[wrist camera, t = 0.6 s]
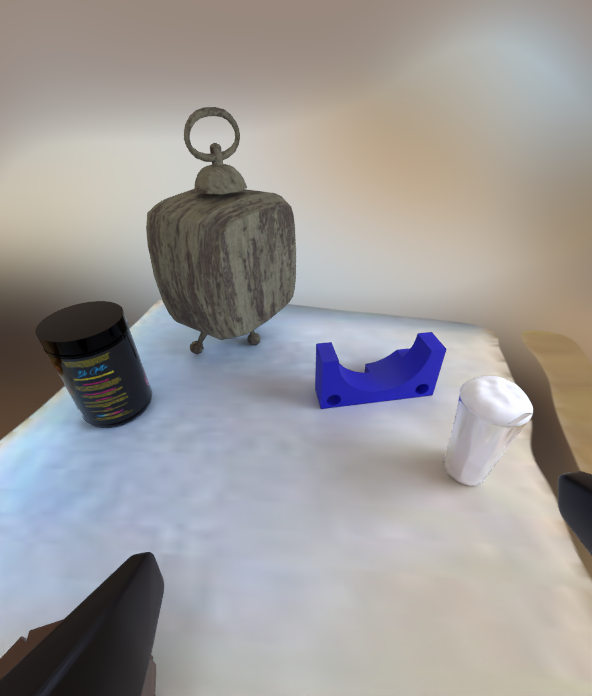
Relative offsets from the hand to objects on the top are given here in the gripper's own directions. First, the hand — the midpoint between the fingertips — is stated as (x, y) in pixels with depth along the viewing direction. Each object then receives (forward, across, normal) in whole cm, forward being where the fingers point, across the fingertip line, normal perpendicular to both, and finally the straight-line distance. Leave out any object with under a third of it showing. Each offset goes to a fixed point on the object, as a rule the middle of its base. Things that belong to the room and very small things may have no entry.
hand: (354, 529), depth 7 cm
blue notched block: (+28, -6, +9) cm, 30 cm away
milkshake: (+18, -11, +14) cm, 25 cm away
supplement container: (+27, +20, +5) cm, 34 cm away
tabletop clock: (+38, +8, +3) cm, 39 cm away
